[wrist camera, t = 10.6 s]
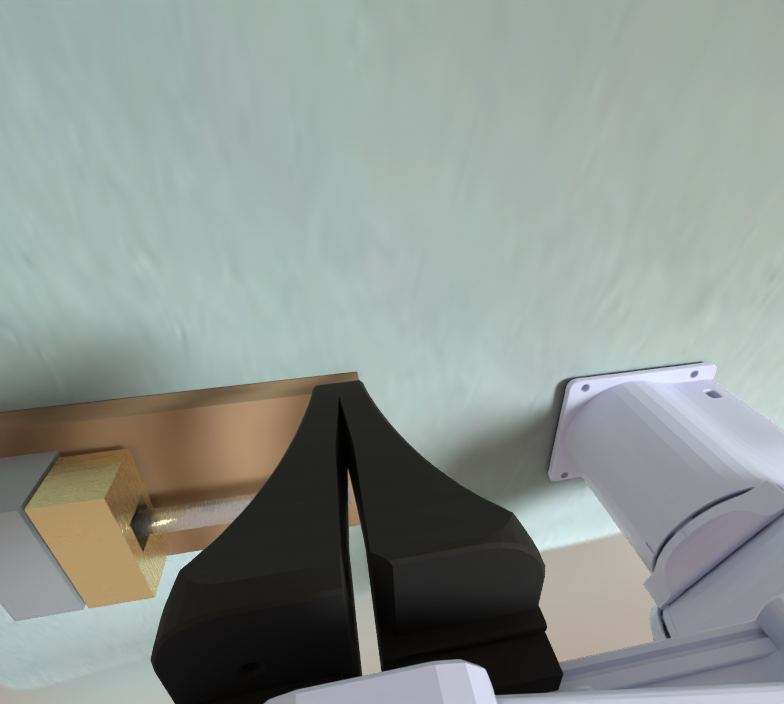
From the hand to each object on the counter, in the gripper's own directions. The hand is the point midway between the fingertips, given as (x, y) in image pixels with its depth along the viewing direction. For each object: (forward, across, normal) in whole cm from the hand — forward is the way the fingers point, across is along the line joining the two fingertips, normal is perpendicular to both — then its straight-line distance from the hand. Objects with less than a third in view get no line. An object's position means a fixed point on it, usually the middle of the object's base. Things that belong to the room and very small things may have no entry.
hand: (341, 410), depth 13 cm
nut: (+7, +12, +10) cm, 17 cm away
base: (+9, +8, +10) cm, 16 cm away
